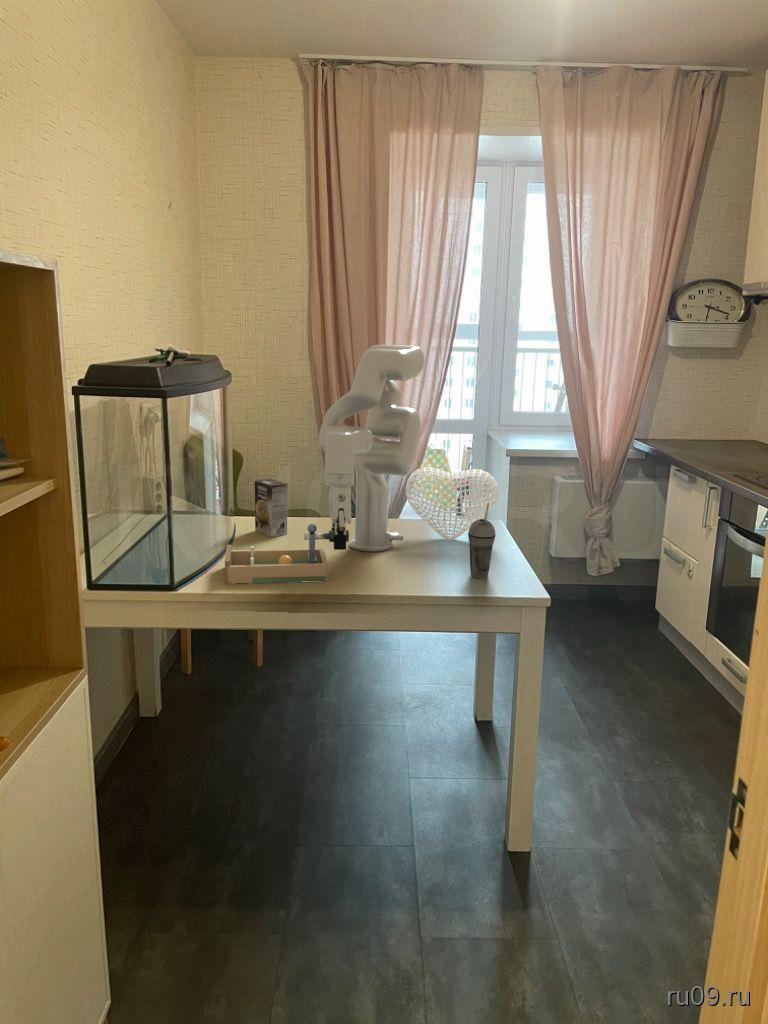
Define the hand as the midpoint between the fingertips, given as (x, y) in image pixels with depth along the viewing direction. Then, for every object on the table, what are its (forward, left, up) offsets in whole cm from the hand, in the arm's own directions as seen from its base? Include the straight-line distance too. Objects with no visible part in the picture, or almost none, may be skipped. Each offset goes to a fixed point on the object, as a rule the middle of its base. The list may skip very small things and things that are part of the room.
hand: (338, 544), depth 207 cm
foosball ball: (+14, 0, -4) cm, 15 cm away
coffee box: (+17, -39, -8) cm, 43 cm away
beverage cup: (-37, +6, -8) cm, 38 cm away
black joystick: (+3, 0, -6) cm, 7 cm away
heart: (-37, -28, -8) cm, 47 cm away
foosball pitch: (+16, 0, -8) cm, 18 cm away
